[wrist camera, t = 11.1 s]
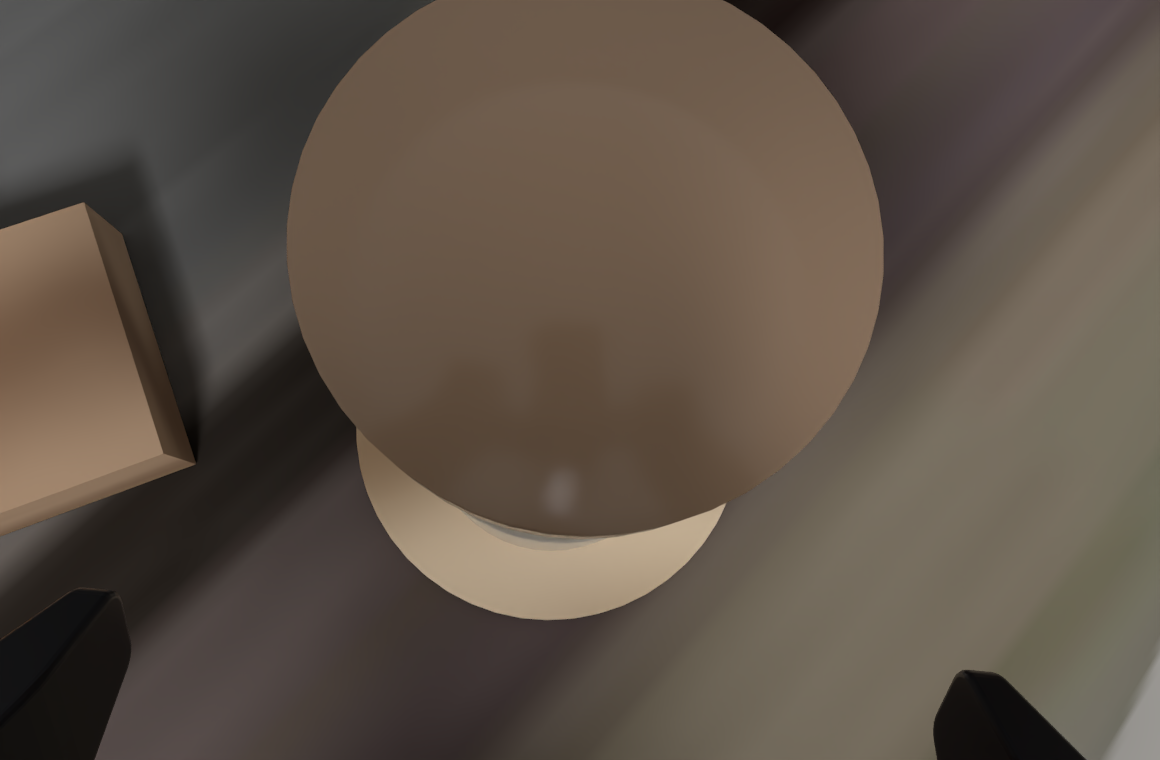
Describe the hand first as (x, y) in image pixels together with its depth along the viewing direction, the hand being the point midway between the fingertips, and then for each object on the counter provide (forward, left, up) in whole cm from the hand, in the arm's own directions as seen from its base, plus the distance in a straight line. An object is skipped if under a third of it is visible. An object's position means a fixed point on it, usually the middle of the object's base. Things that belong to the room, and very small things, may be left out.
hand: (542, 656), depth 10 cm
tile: (+9, +9, -12) cm, 17 cm away
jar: (+4, -2, -11) cm, 12 cm away
